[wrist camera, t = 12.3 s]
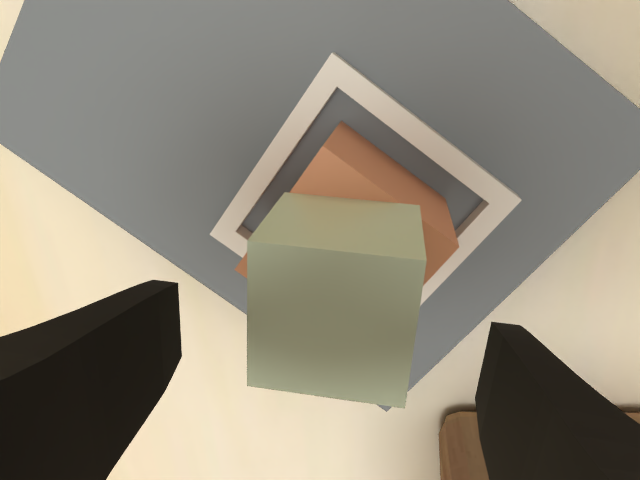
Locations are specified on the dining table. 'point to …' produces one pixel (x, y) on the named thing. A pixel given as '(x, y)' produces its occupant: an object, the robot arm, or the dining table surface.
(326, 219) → the block
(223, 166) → the board
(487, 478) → the block
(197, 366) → the dining table surface
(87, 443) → the robot arm
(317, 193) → the block
